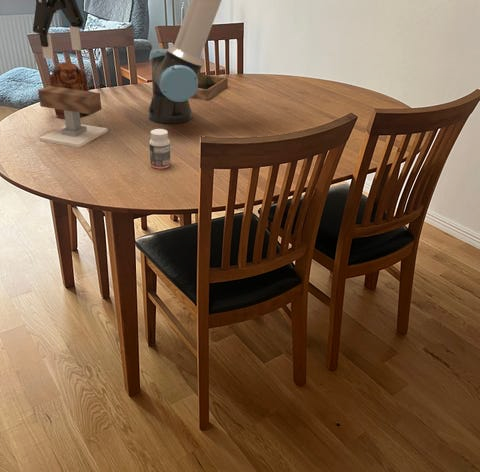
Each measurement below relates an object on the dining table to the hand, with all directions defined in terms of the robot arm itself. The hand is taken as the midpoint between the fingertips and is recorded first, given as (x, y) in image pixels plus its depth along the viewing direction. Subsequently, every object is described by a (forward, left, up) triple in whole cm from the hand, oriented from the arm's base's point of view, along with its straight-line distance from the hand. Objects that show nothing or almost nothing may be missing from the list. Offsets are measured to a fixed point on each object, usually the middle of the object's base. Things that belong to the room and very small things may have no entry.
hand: (63, 54), depth 148 cm
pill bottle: (-35, +10, -25) cm, 44 cm away
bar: (0, 0, -16) cm, 16 cm away
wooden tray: (-16, -66, -25) cm, 72 cm away
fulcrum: (0, 0, -25) cm, 25 cm away
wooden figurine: (+12, -17, -25) cm, 32 cm away
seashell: (-15, -68, -25) cm, 74 cm away
